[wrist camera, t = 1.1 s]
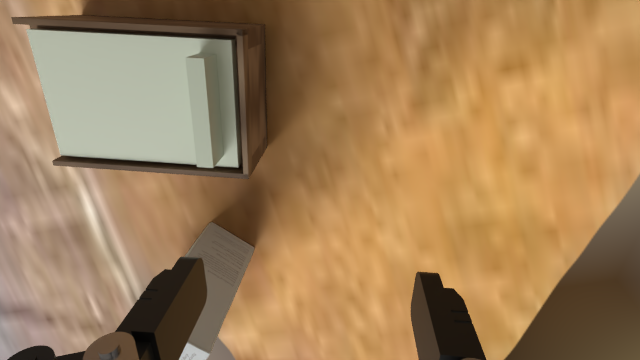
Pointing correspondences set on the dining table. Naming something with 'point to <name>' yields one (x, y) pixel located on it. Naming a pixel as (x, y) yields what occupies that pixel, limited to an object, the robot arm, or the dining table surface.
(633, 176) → the dining table surface
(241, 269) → the skincare box
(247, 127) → the box
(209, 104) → the lid
